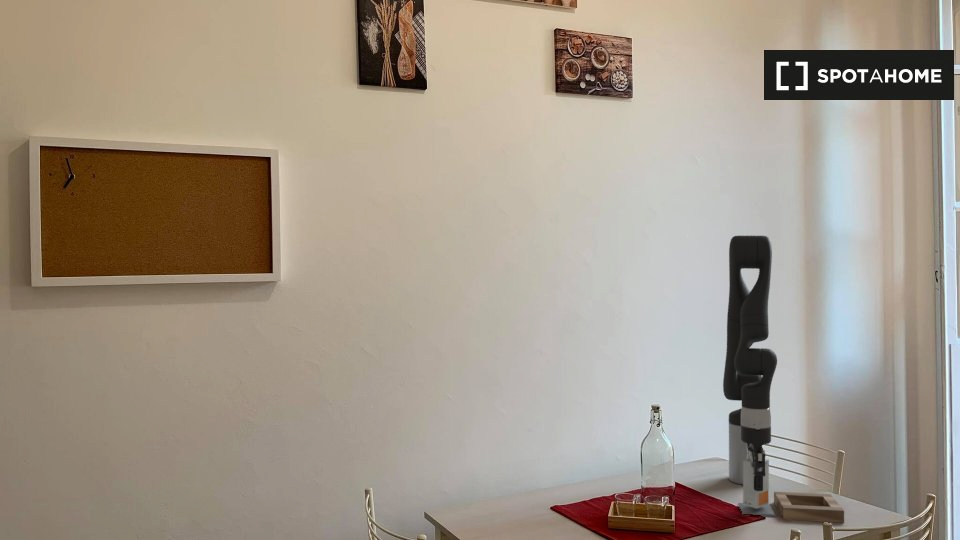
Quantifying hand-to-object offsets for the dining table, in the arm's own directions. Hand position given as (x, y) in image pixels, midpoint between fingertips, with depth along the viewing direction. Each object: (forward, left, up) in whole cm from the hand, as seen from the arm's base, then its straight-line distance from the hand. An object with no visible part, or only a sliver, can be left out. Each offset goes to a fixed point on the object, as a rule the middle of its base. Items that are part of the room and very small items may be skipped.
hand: (756, 485), depth 203 cm
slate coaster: (0, 0, -7) cm, 7 cm away
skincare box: (0, 0, -5) cm, 5 cm away
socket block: (-1, +13, -7) cm, 15 cm away
